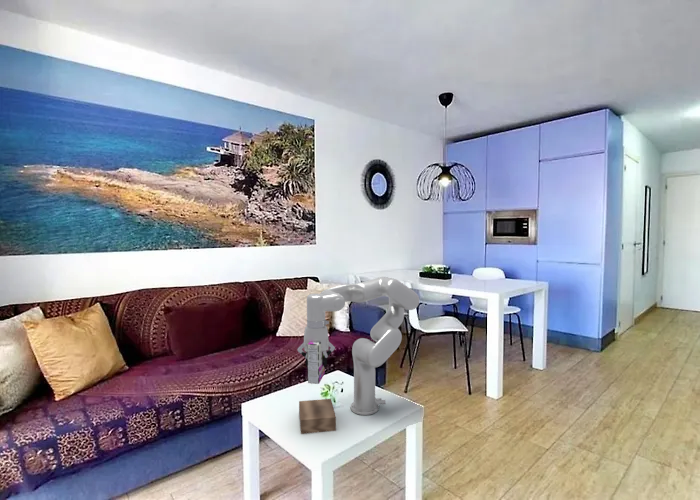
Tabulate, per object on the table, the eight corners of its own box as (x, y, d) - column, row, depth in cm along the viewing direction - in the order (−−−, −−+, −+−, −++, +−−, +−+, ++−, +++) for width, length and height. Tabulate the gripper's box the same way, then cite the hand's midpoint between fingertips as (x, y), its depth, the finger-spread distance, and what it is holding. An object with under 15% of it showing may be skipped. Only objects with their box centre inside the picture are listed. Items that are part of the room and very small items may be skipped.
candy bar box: (313, 372, 161) (313, 335, 160) (325, 373, 160) (325, 336, 159) (306, 383, 150) (307, 343, 149) (319, 384, 149) (319, 344, 148)
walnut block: (331, 411, 165) (330, 398, 165) (335, 431, 150) (335, 417, 149) (299, 414, 163) (299, 401, 162) (300, 434, 147) (300, 420, 147)
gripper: (335, 320, 158) (335, 362, 160) (294, 322, 156) (295, 364, 157) (338, 325, 151) (338, 368, 152) (295, 327, 148) (295, 371, 150)
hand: (316, 366), depth 155 cm, fingers closed on candy bar box, 6 cm apart
